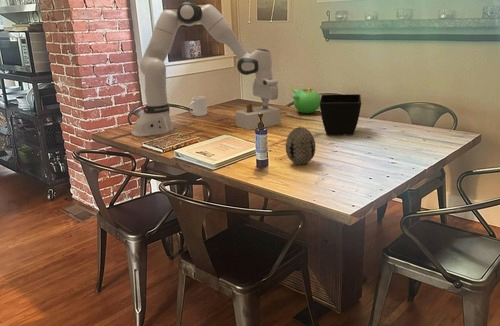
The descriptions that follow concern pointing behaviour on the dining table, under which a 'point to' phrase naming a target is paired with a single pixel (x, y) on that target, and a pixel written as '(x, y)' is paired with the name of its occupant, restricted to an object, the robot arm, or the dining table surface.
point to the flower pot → (340, 113)
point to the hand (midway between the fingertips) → (265, 105)
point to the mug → (199, 106)
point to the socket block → (251, 119)
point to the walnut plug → (249, 108)
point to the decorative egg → (300, 146)
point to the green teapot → (306, 100)
